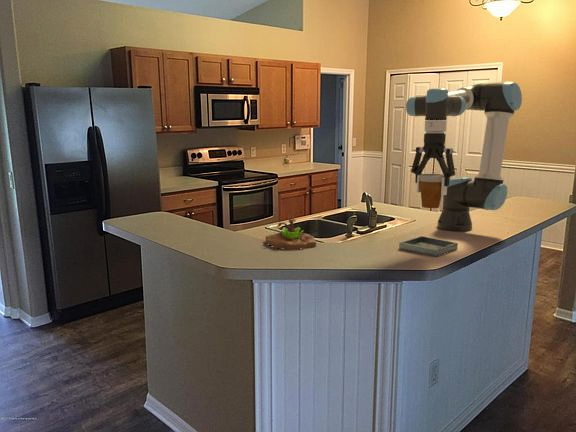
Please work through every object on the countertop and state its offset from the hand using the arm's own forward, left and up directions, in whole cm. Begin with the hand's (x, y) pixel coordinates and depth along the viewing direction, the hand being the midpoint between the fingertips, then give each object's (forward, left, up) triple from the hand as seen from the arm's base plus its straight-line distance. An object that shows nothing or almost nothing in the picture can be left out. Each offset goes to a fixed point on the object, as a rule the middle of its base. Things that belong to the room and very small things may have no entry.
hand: (431, 193), depth 179 cm
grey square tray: (0, 0, -21) cm, 21 cm away
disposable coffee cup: (0, 0, -5) cm, 5 cm away
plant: (+32, -42, -22) cm, 57 cm away
